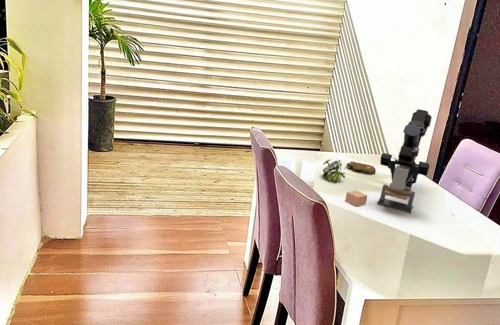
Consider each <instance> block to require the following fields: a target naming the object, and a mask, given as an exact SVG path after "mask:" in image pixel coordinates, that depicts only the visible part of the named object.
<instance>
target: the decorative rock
mask: <svg viewBox="0 0 500 325" xmlns="http://www.w3.org/2000/svg"><path fill="white" fill-rule="evenodd" d="M346 167H347V168H348V169H350V170H351V169H352V170H355V172H359V173H360V172H363V173H365V174H368V175H376V168H375V166H374V165H371V164H366V163H361V162H356V161H350V162H347V164H346Z"/></svg>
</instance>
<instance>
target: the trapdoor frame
mask: <svg viewBox="0 0 500 325" xmlns="http://www.w3.org/2000/svg"><path fill="white" fill-rule="evenodd" d="M388 186H389V185H388V184H385V183H384V184H383V185H382V189H381V192H380V193H381V194H380V197H379V199H378V200H377V202H376V205H379V206H381V207H385V208H386V207H387V208H391V209H394V210H398V211H400V212H404V213H408V214H412V212H413V209H414V205H413V203H414V198H415V195H416V191H412V190H411V191H410V196H408V200H407V203H403V202H400V201H396V200H391V199H388V198H386V195H384V192H385V190H386V189H387V187H388Z"/></svg>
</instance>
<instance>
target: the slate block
mask: <svg viewBox="0 0 500 325" xmlns="http://www.w3.org/2000/svg"><path fill="white" fill-rule="evenodd" d="M409 169H410V168H407V167H403V166H400V165H397V164H396V165H395V171H394V175H393V179H392V178H391V183H392V184H391V187H393V188H397V189H401V190H404V188H405V186H406V184H405V183H406V179H407V177H408V174H409Z"/></svg>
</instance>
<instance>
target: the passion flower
mask: <svg viewBox="0 0 500 325" xmlns="http://www.w3.org/2000/svg"><path fill="white" fill-rule="evenodd" d="M330 161H331V158H330V159H328V160H326V161H324V162H323V165H326V164H327V166H325V167H324V168H322V172H323V173H322V174H321V175H322V176H323V177H326V176H327V175H328V177H327V178H328V179H327V180H328V182H329V183H331V180H332V182H335V181H339V180H340V182H341V179H342V178H344V179H346V176H345V174H346V172H344V171H343V172H341V170H342V162H341V159H338V160H335V161H331V163H329V162H330Z"/></svg>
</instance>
